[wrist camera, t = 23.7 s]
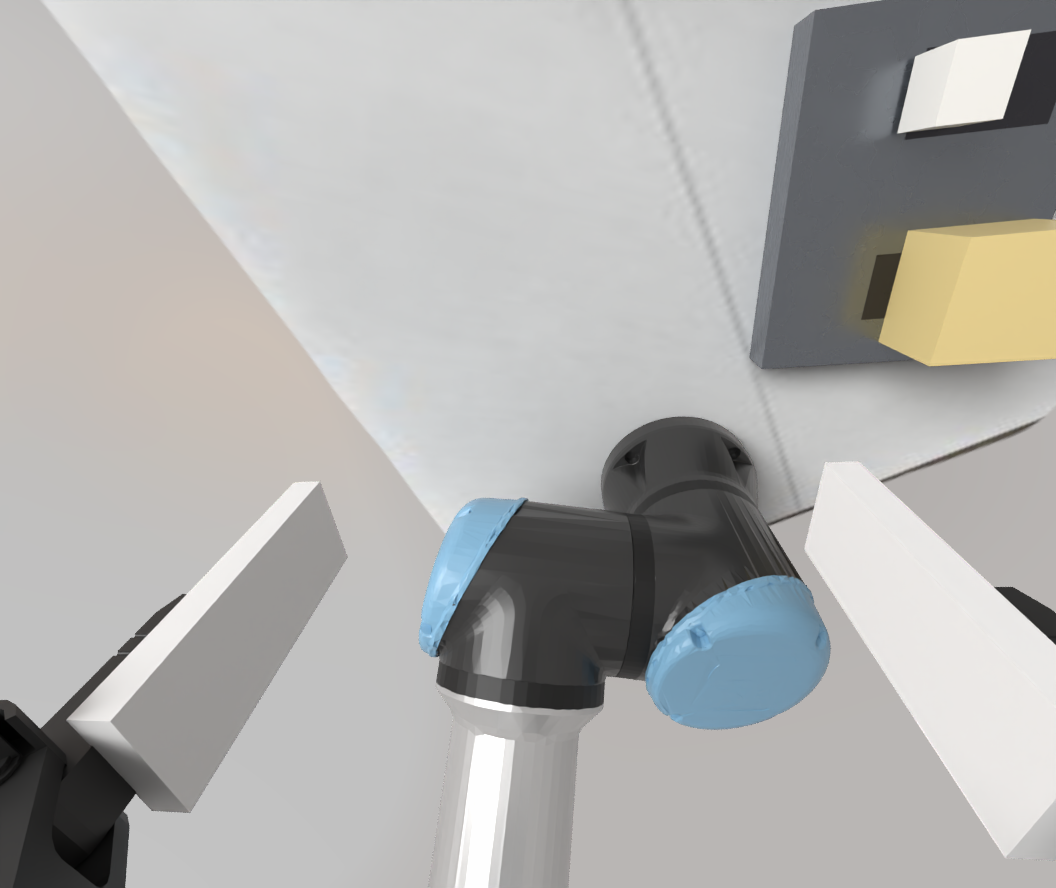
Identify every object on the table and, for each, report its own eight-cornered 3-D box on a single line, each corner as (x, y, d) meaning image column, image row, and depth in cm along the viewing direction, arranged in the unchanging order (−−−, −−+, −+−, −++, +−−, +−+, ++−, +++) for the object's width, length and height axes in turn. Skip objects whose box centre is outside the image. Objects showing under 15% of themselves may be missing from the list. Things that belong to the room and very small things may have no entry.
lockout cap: (991, 334, 36) (1062, 358, 31) (878, 341, 37) (929, 366, 32) (1035, 218, 32) (1125, 223, 27) (907, 230, 33) (971, 237, 28)
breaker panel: (969, 343, 39) (998, 354, 37) (749, 357, 42) (761, 369, 39) (1100, -19, 29) (1154, -40, 26) (794, 25, 31) (815, 9, 28)
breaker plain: (957, 126, 30) (1002, 118, 27) (897, 133, 30) (934, 126, 27) (979, 47, 28) (1031, 29, 25) (915, 56, 28) (958, 39, 25)
